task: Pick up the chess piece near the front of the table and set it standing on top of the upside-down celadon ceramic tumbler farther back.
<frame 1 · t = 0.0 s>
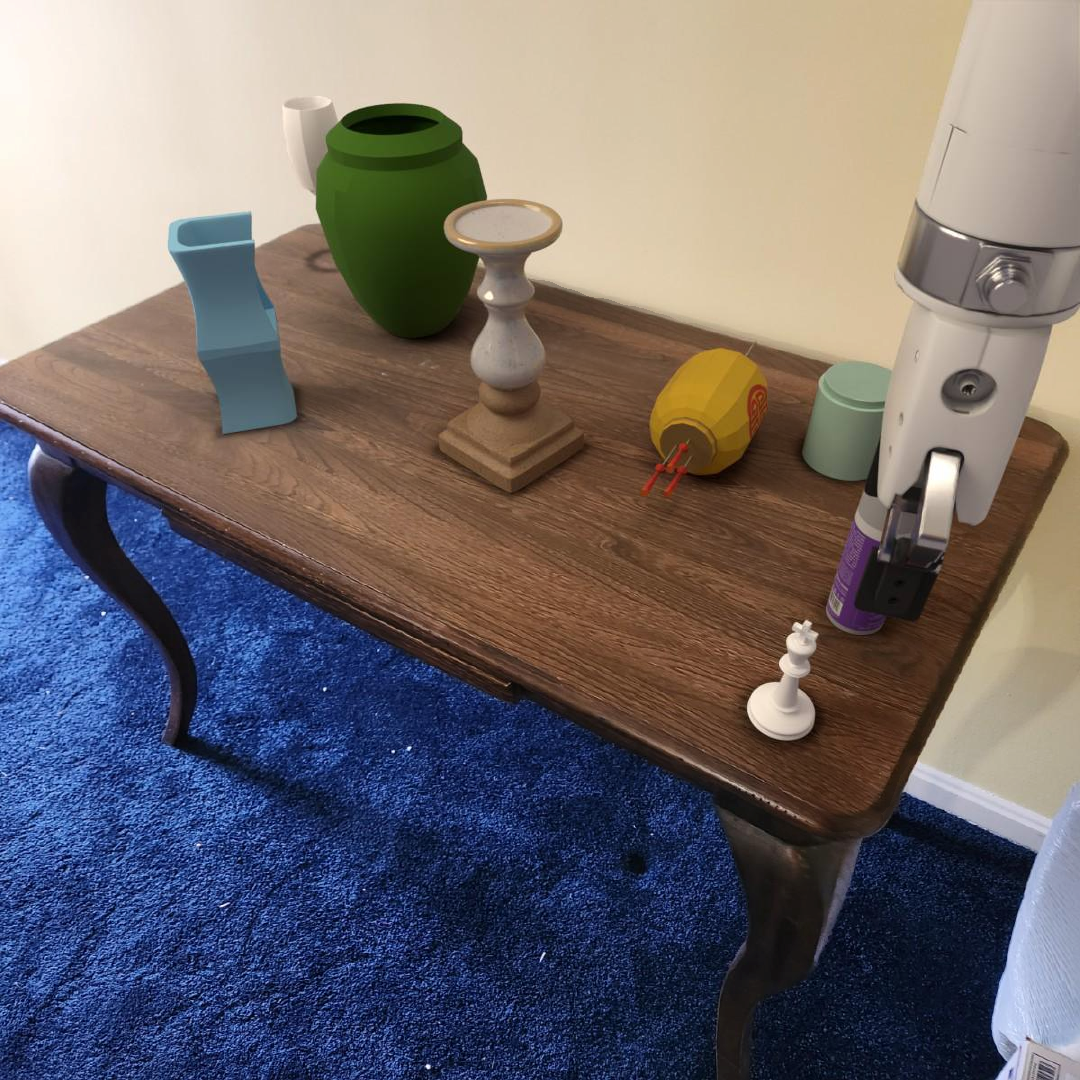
hand: (888, 550, 48), 20 cm above the table, tool pointing down, fingers open, 9 cm apart
chess piece: (780, 714, 64), on the table
candle holder: (511, 449, 89), on the table
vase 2: (259, 410, 95), on the table
vase: (416, 325, 109), on the table
lantern: (704, 451, 89), on the table
container: (853, 616, 72), on the table
cup: (335, 260, 123), on the table
upturned tumbler: (842, 456, 88), on the table
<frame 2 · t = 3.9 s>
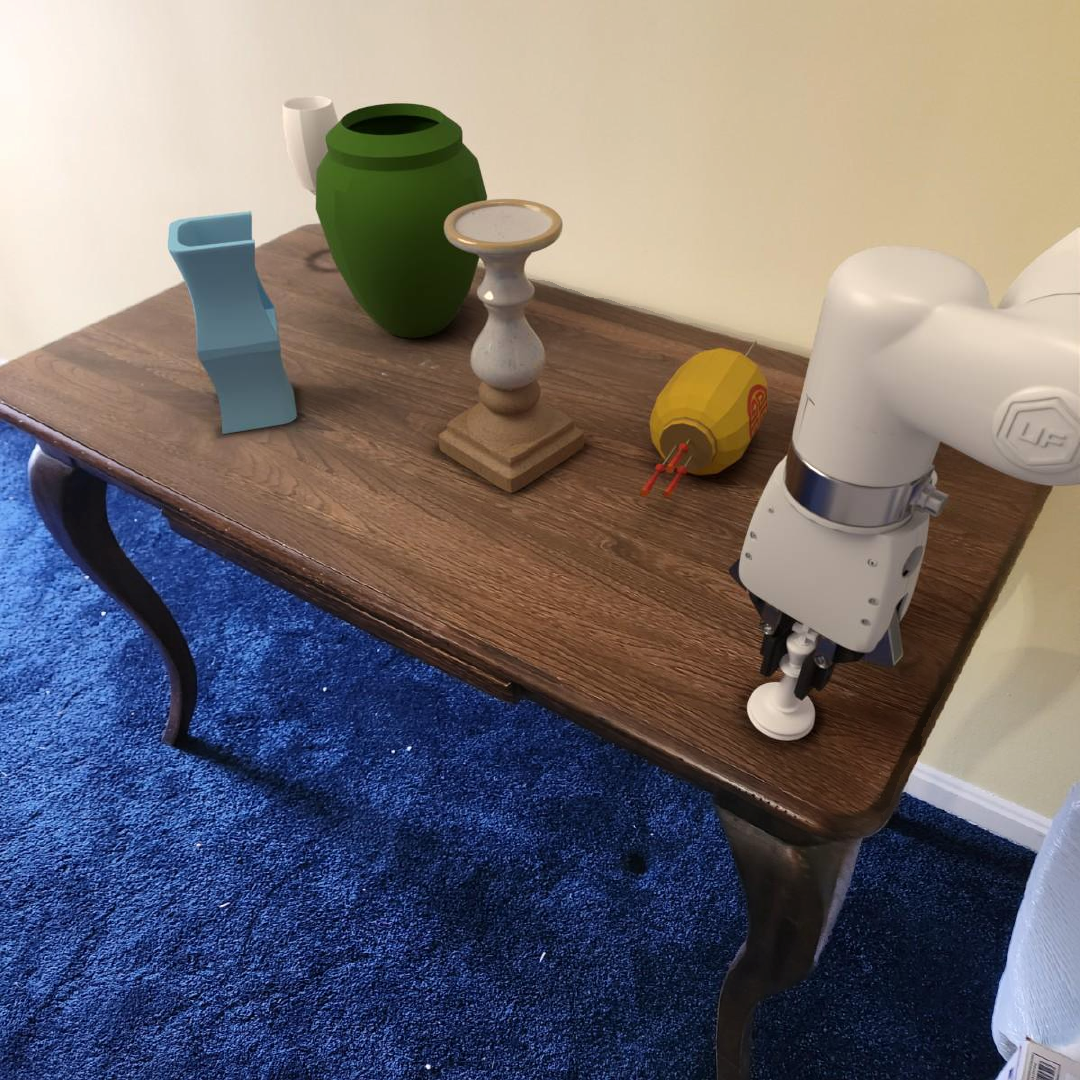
hand: (791, 674, 61), 5 cm above the table, tool pointing down, fingers closed on chess piece
chess piece: (779, 714, 64), on the table, touching gripper
everything else where it was.
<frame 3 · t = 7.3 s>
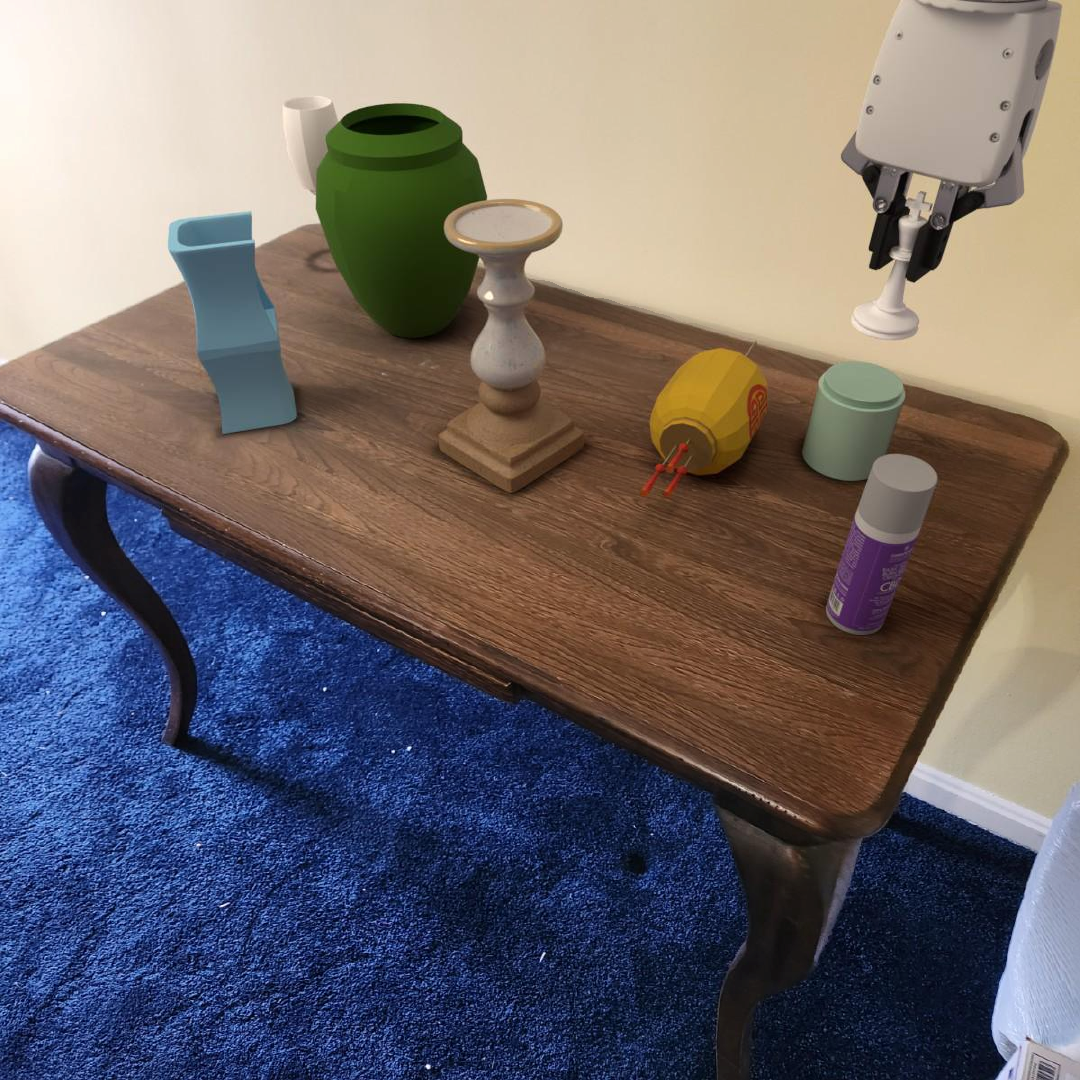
hand: (900, 267, 63), 25 cm above the table, tool pointing down, fingers closed on chess piece
chess piece: (883, 326, 66), point 21 cm above the table, touching gripper
everything else where it was.
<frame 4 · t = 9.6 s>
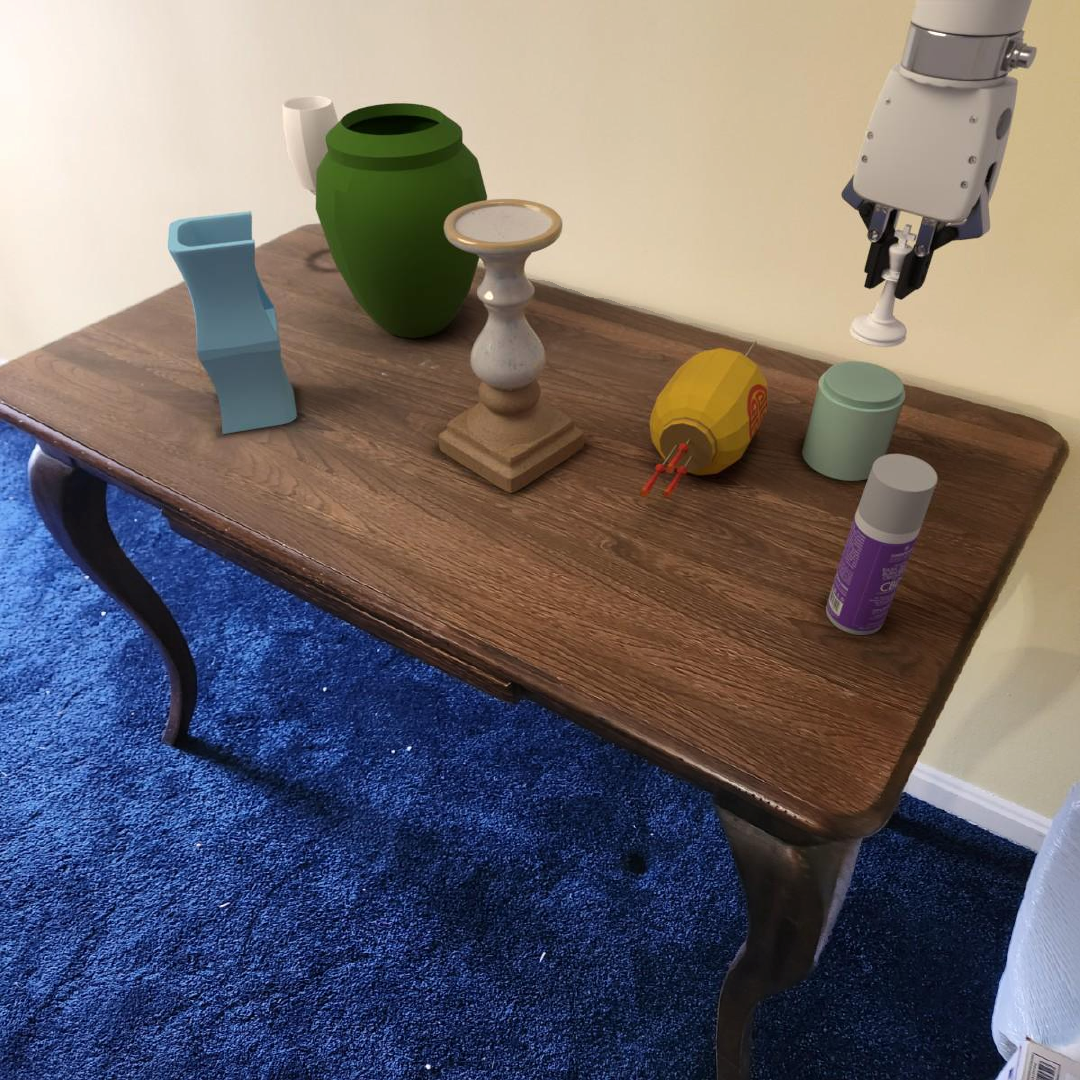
hand: (890, 287, 75), 19 cm above the table, tool pointing down, fingers closed on chess piece
chess piece: (876, 335, 78), point 14 cm above the table, touching gripper
everything else where it was.
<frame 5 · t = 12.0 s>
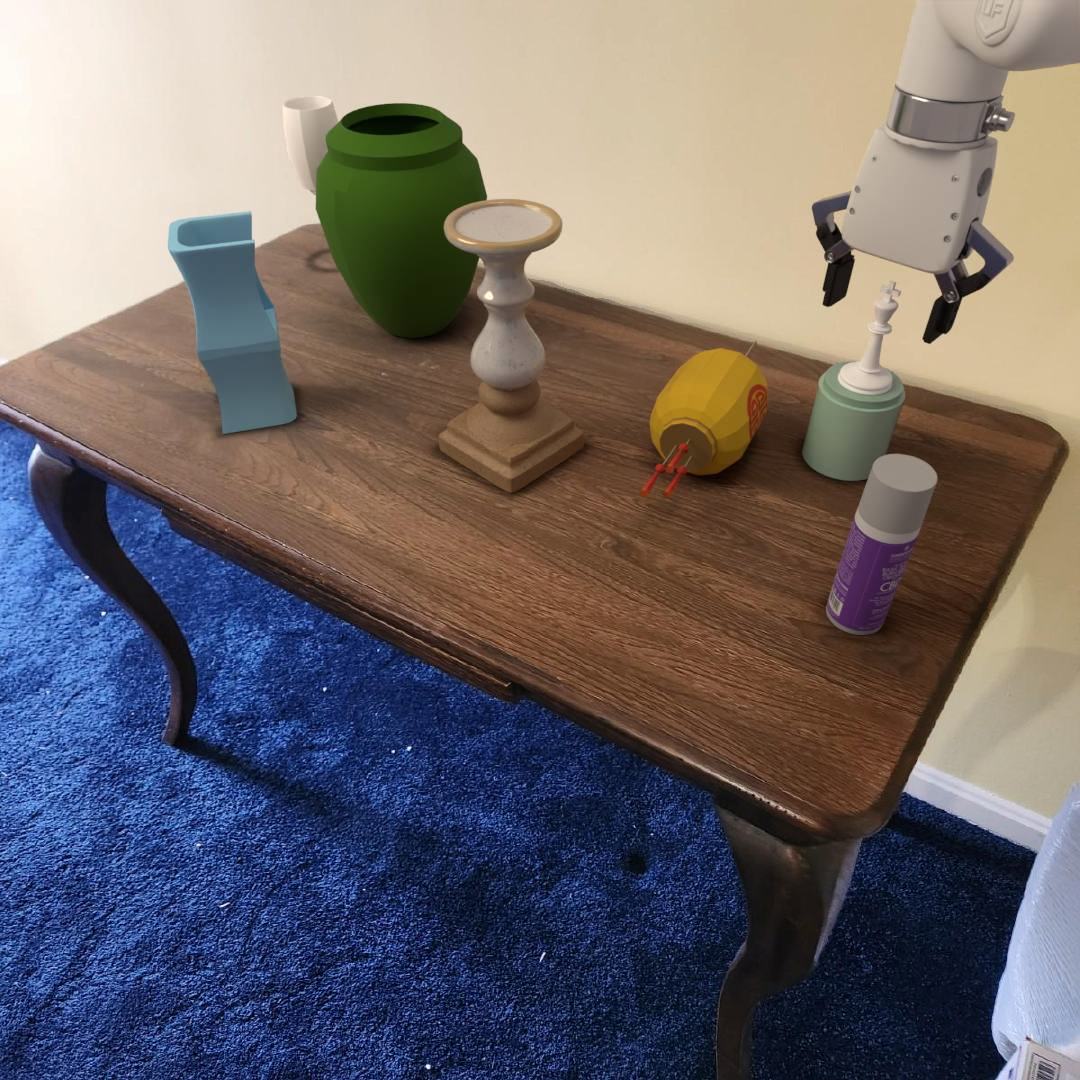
hand: (881, 318, 77), 15 cm above the table, tool pointing down, fingers open, 9 cm apart
chess piece: (863, 383, 82), point 9 cm above the table, touching upturned tumbler
everything else where it was.
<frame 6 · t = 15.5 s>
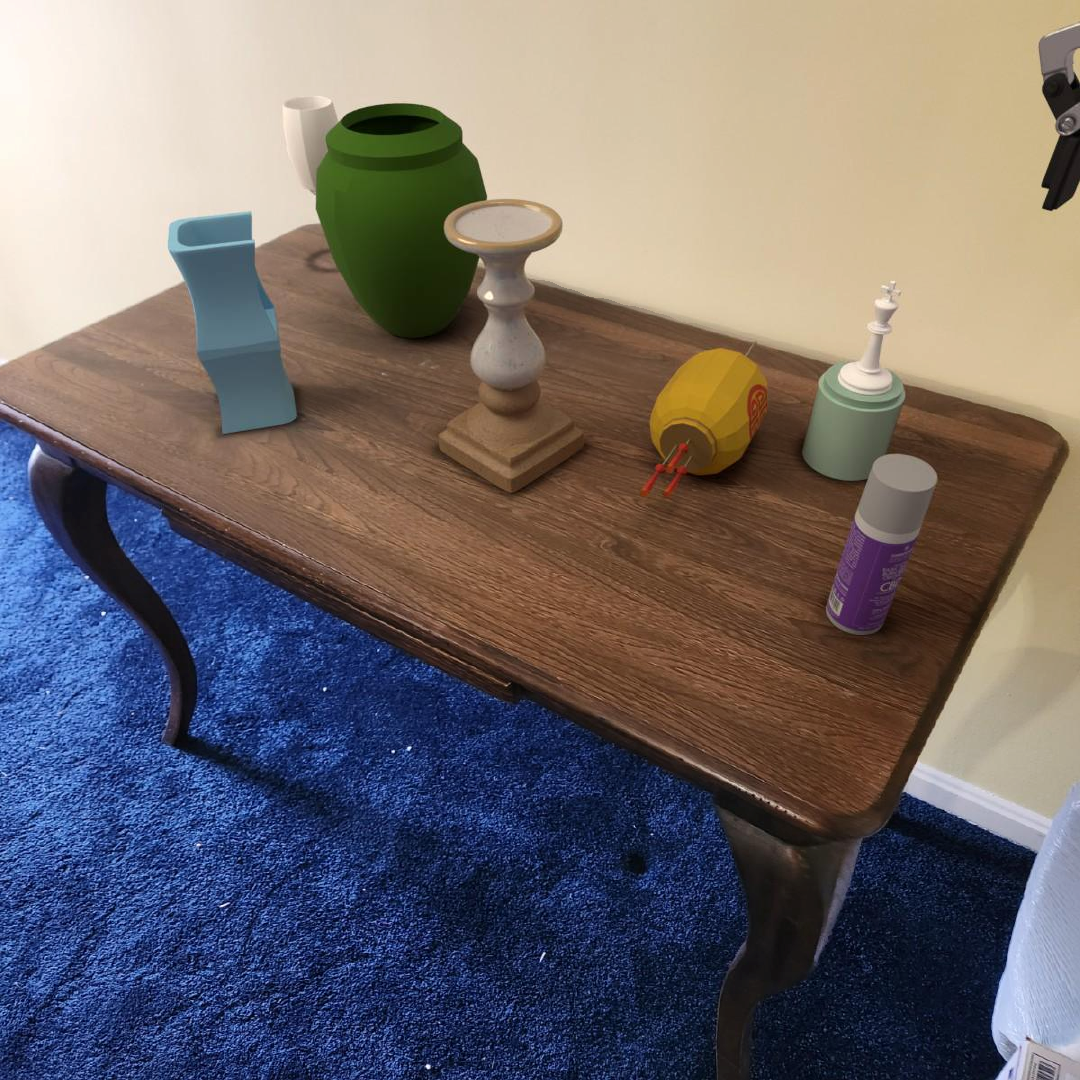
nothing on the table moved.
at the end: chess piece 0.1 cm off-centre on the upturned tumbler, point 8.8 cm above the upturned tumbler's base; chess piece tilted 0°; the gripper is holding nothing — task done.
